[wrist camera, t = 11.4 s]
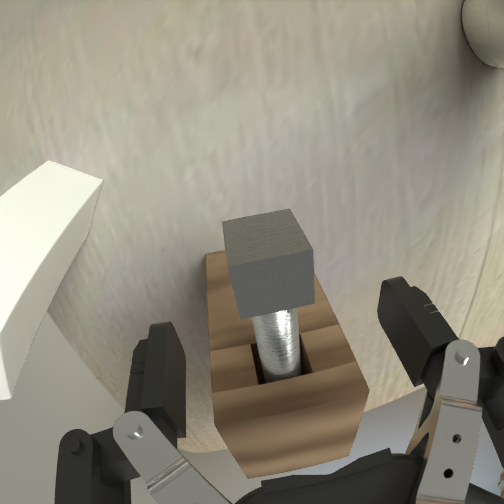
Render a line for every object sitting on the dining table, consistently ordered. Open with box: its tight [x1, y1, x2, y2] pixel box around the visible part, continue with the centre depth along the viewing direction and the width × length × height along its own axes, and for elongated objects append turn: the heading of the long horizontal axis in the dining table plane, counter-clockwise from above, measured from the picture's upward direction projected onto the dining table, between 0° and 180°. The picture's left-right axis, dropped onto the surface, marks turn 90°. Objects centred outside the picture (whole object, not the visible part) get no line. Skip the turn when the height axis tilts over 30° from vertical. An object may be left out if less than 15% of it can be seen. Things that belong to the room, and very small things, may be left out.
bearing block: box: [206, 250, 369, 478], centre depth 27 cm, size 12×9×18 cm
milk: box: [0, 161, 103, 400], centre depth 16 cm, size 6×6×22 cm
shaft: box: [222, 209, 315, 383], centre depth 22 cm, size 29×4×4 cm, turn 8°
